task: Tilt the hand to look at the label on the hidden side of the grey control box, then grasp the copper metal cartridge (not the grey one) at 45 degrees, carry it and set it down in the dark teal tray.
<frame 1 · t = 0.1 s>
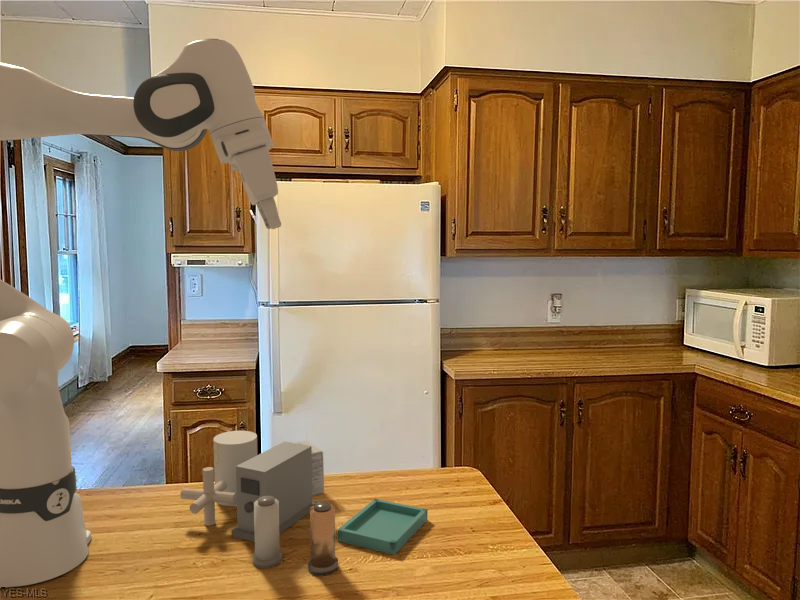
hand: (274, 228, 104), 52 cm above the kitchen island, tool tilted 20°, fingers open, 8 cm apart
pipe connector: (209, 524, 113), on the kitchen island
copper cartridge: (323, 567, 99), on the kitchen island
tray: (384, 530, 111), on the kitchen island
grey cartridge: (267, 560, 101), on the kitchen island
light grey cylinder: (237, 498, 125), on the kitchen island
medicine box: (306, 490, 128), on the kitchen island
control box: (276, 520, 115), on the kitchen island
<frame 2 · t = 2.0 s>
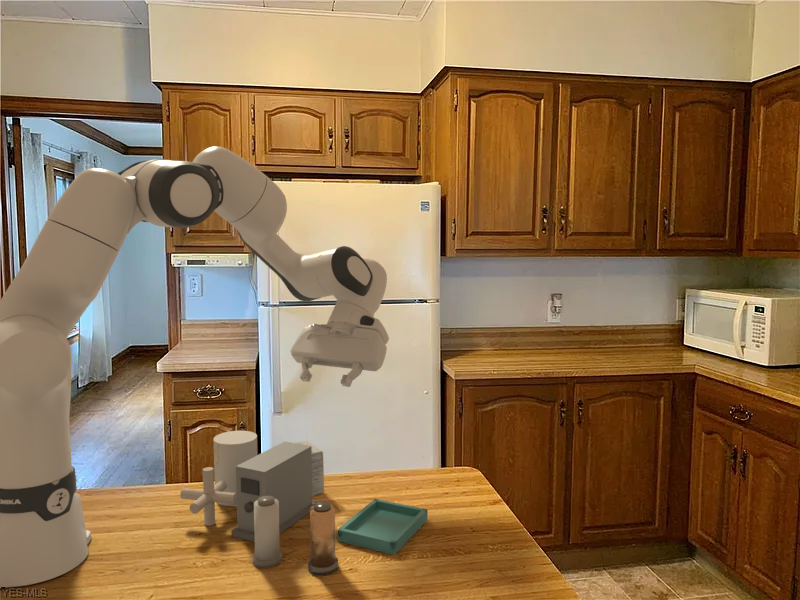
hand: (324, 382, 127), 22 cm above the kitchen island, tool tilted 45°, fingers open, 8 cm apart
nothing on the kitchen island moved.
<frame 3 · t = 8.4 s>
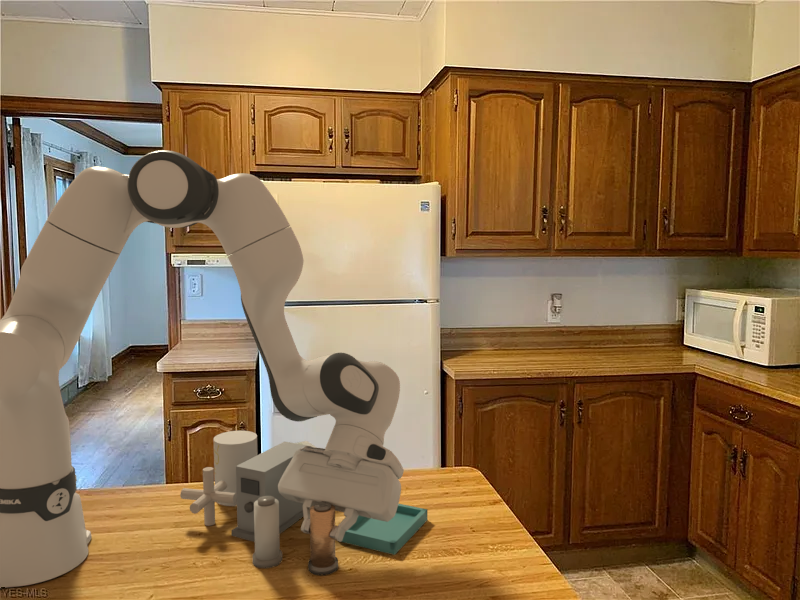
hand: (320, 535, 98), 5 cm above the kitchen island, tool tilted 45°, fingers closed on copper cartridge, 4 cm apart
copper cartridge: (323, 567, 99), on the kitchen island, touching gripper
everything else where it was.
when the fingers open (7 cm above the kitchen island, at t = 13.0 s): copper cartridge stays where it is, resting on tray.
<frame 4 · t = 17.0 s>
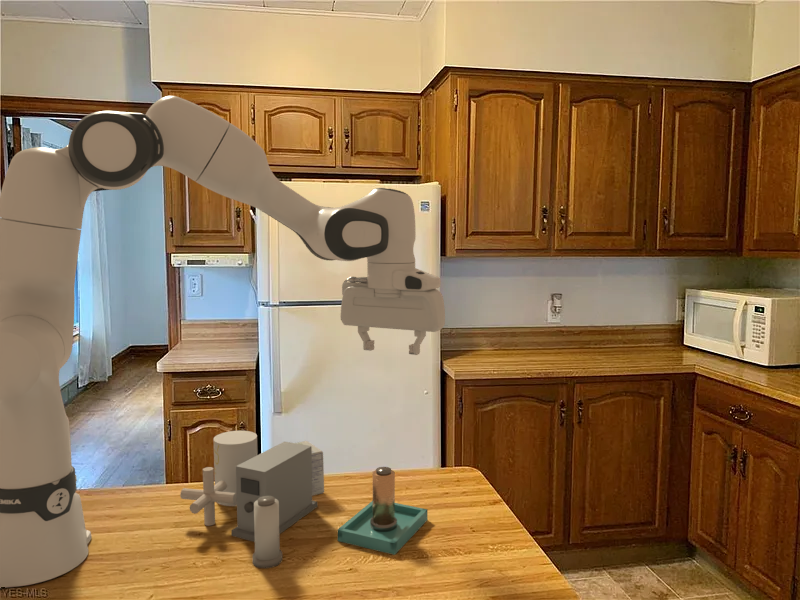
hand: (391, 352, 119), 29 cm above the kitchen island, tool pointing down, fingers open, 8 cm apart
copper cartridge: (383, 525, 111), point 1 cm above the kitchen island, touching tray
everything else where it was.
at the end: copper cartridge inside the target area on the tray (0.1 cm from its centre), point 0.8 cm above the tray's base; the gripper is holding nothing; copper cartridge moved 15.3 cm from its start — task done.
